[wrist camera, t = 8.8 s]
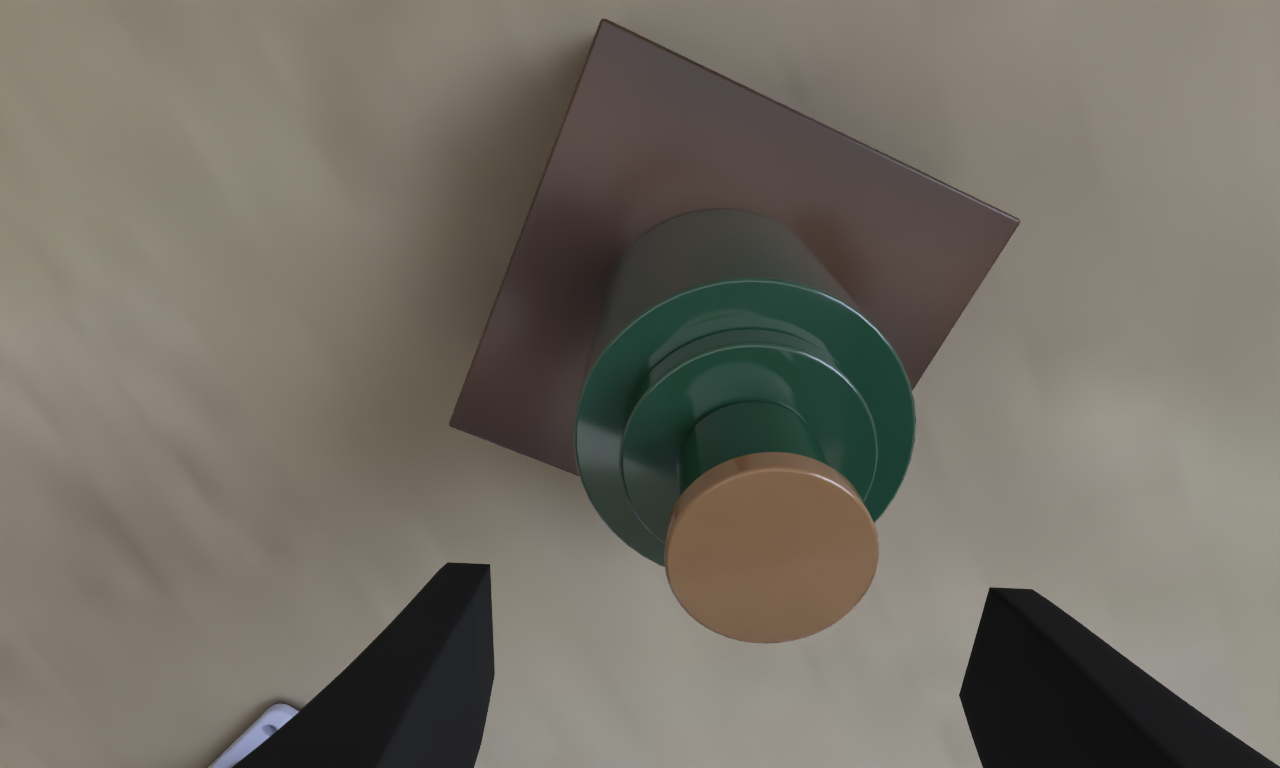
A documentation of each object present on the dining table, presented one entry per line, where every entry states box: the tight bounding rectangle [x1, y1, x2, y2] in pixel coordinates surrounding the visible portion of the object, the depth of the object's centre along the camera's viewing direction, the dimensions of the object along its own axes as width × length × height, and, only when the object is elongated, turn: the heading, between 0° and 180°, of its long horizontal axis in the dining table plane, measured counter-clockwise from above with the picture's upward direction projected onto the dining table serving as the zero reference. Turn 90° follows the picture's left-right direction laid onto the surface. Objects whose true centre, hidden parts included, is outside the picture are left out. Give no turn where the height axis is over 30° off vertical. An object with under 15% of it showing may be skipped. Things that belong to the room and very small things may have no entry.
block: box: [449, 19, 1020, 476], centre depth 18 cm, size 9×9×4 cm
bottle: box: [574, 209, 916, 643], centre depth 12 cm, size 5×5×8 cm
